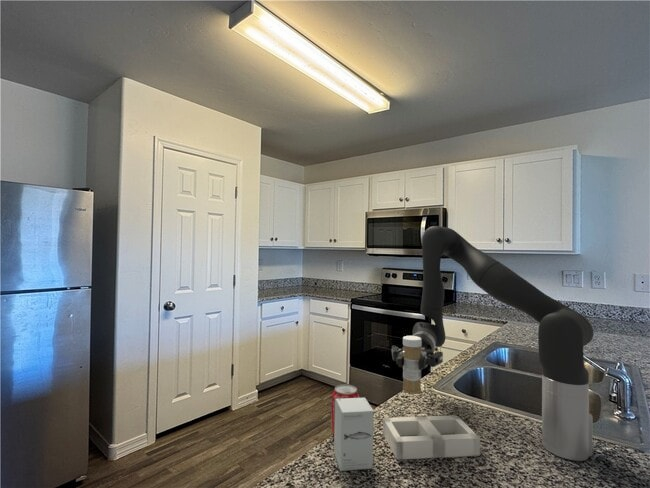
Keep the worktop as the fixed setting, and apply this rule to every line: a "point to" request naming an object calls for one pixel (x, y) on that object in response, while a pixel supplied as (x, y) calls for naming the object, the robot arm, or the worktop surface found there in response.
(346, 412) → the supplement box
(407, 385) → the sprinkles bottle
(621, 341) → the worktop surface
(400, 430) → the divided compartment tray
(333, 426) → the soda can
